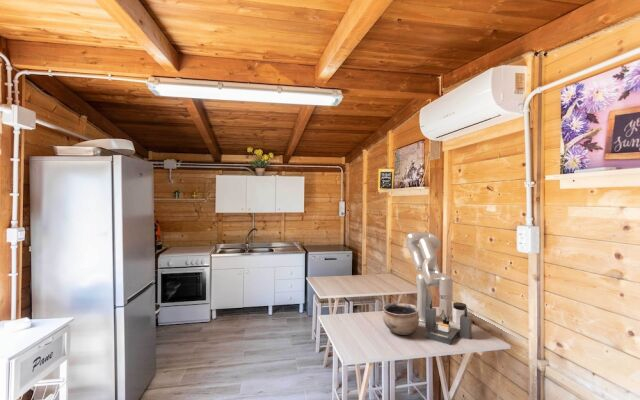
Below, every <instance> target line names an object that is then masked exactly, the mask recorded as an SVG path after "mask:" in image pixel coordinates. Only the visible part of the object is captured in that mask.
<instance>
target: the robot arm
mask: <svg viewBox="0 0 640 400" xmlns="http://www.w3.org/2000/svg"><path fill="white" fill-rule="evenodd" d="M405 243H406V247H407V249H408V251H409V253H410V255H411V259H412V263H413V266H414V269H415V270H416V271H417V272H419V273H418V274H416V276H415V282H416V292H417V294H416V297H417V298H416V301H417V302H416V303H417V305H416V307H417V310H418V309H419V312H418V315H419V323H420V322H421V323H425V309H426V308H428V307H430V300H432V301H433V293H432V291H431V290H430V288H431V287H438V289H439V290H438V293H439V294H438V297H439V298H438V299H439V306H438V316H439V317H441V320H442V323H443V324H447V325H450V315H452V308H453V304H452V302H453V297H454V296H453V295H454V294H453V291H454V290H453V288H454V287H453V286H454V285H453V281H454V280H453V277H451V276H449V275H448V274H446V273H443V272H441V270H440V267H439V265H438V262H437V259H438V255H437V252H436V250H438V249H440V248H441V246H442V244H441V241H440V239H439V237H438V236H436V235H435V234H432V233H430V232H426V231H424V232H418V231H416V232H410V233H408V234H406V237H405Z"/></svg>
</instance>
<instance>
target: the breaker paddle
mask: <svg viewBox="0 0 640 400" xmlns="http://www.w3.org/2000/svg"><path fill="white" fill-rule="evenodd" d="M437 324H438V330H441V331H445V332H449V331H450V327H451V325H450V324H449V325H447V324H443V322H438V323H437Z"/></svg>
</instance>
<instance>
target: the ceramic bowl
mask: <svg viewBox="0 0 640 400" xmlns="http://www.w3.org/2000/svg"><path fill="white" fill-rule="evenodd" d="M382 310H383V314H382V319H383V324H384V325H385V326H386V328H388V329H389V330H390V331H391V332H392V333H394V334H397V335H402V336H408V335H410V334H412V333H414V332H415V330H417V328H418V327H419V324H420V321H419V315H418V312H419V309H418V310H417V305H414V304H411V303H403V302H389V303H387V304H384V305H383V306H382Z"/></svg>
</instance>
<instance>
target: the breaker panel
mask: <svg viewBox="0 0 640 400" xmlns="http://www.w3.org/2000/svg"><path fill="white" fill-rule="evenodd" d="M459 337H460V328H455V327H451V326H450V331H449V332H445V331H441V330H438V323H436V325H435V326H433V327H432V328H431V329H429V330H427V331H426V332H425V338H426V339H429V340H432V341H436V342H439V343H442V344H446V345H452V344H453V343H454V341H456V340H457V339H458V338H459Z"/></svg>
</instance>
